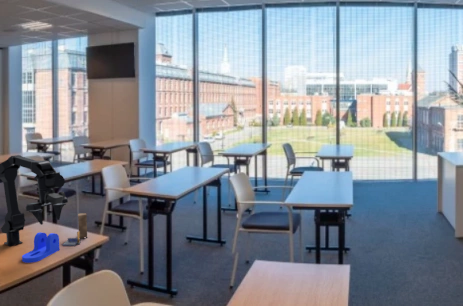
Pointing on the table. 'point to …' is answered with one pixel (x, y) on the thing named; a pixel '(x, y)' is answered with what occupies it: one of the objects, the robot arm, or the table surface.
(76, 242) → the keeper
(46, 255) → the bracket
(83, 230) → the link block
